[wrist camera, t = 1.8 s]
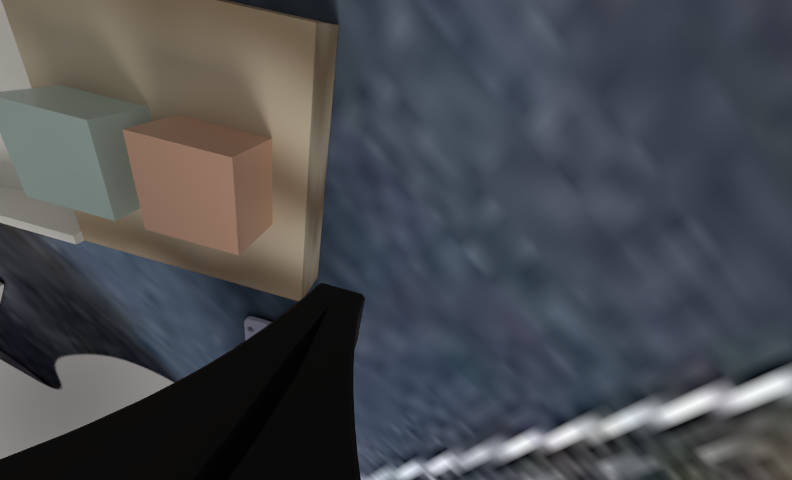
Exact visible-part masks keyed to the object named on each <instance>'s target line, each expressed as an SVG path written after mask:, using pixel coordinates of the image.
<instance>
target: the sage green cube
mask: <svg viewBox="0 0 792 480" xmlns="http://www.w3.org/2000/svg"><path fill="white" fill-rule="evenodd" d="M149 122H152V120H151V114H150V109H149V107H146V106H142V105H138V104H134V103H131V102H127V101H123V100H119V99H115V98H111V97H107V96H103V95H99V94H95V93H91V92H87V91H83V90H79V89H75V88H71V87H67V86H63V85H57V86H48V87H39V88H29V89H20V90H11V91H2V92H0V134H1V136H2V139H3V141H4V144H5V146H6V148H7V151H8V153H9V156H10V158H11V160H12V163H13V165H14V168H15V170H16V172H17V175H18V177H19V180H20V182H21V184H22V187H23V189H24V191H25V194H26V196H27V197H31V198H34V199H38V200H41V201H45V202H49V203H52V204H56V205H59V206H63V207H67V208H70V209H74V210H77V211H81V212H85V213H88V214H92V215H95V216H99V217H102V218H106V219H110V220H113V221H116V220H118V219H120V218H122V217H124V216H126V215H128V214H130V213H132V212H134V211H136V210H138V209H140V204H139V200H138V195H137V191H136V187H135V182H134V178H133V174H132V169H131V165H130V161H129V156H128V152H127V148H126V143H125V139H124V135H123V130H122V129H125V128H129V127H133V126H137V125H141V124H145V123H149Z"/></svg>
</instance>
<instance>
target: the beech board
mask: <svg viewBox="0 0 792 480" xmlns="http://www.w3.org/2000/svg"><path fill="white" fill-rule="evenodd" d="M1 1H2V4H3V7H4V9H5V12H6V15H7V18H8V21H9V24H10V27H11V30H12V33H13V35H14V38H15V41H16V44H17V47H18V50H19V53H20V56H21V59H22V61H23V64H24V67H25V70H26V73H27V76H28V79H29V82H30V85H31V88H39V87H48V86H57V85H63V86H67V87H71V88H75V89H79V90H83V91H87V92H91V93H95V94H99V95H103V96H107V97H111V98H115V99H119V100H123V101H127V102H131V103H134V104H138V105H142V106H146V107H149V109H150V114H151V120H152V122H153V121H157V120H161V119H165V118H169V117H173V116H176V115H182V116H186V117H190V118H194V119H198V120H202V121H206V122H210V123H214V124H218V125H222V126H226V127H230V128H234V129H238V130H242V131H246V132H250V133H254V134H258V135H262V136H266V137H270V138H272V200H273V225H272V226H270V227H269V228H268V229H267V230H266V231H265V232H264V233H263V234H262V235H261V236H260V237H258V238H257V239H256V240H255V241H254V242H253V243H252V244H251V245H250V246H249V247H248V248H246V249H245V250H244V251H243V252H242V253H241V254H240V255H235V254H232V253H228V252H224V251H221V250H217V249H214V248H210V247H207V246H203V245H199V244H196V243H192V242H189V241H185V240H181V239H178V238H174V237H171V236H167V235H163V234H160V233H156V232H153V231H149V230H146V229H145V226H144V221H143V217H142V213H141V208H140V209H138V210H136V211H134V212H132V213H130V214H128V215H126V216H124V217H122V218H120V219H118V220H116V221H113V220H110V219H106V218H102V217H99V216H95V215H92V214H88V213H85V212H81V211H77V210H74V212H75V215H76V218H77V221H78V223H79V226H80V229H81V232H82V235H83V238H84V240H85V241H89V242H92V243H96V244H99V245H103V246H106V247H110V248H113V249H117V250H120V251H124V252H127V253H131V254H134V255H138V256H141V257H145V258H148V259H152V260H155V261H159V262H162V263H166V264H169V265H173V266H176V267H180V268H183V269H187V270H190V271H194V272H197V273H201V274H204V275H208V276H211V277H215V278H218V279H222V280H225V281H229V282H232V283H236V284H239V285H243V286H246V287H250V288H253V289H257V290H260V291H264V292H267V293H271V294H275V295H278V296H282V297H285V298H289V299H292V300H296V301H300V300H301V299H302V298H303V297H305V295H306V294H307V292H308V291H309V289H310V288H311V286H312V285H313V283H314V282H315V280H316V279H317V277H318V267H319V255H320V243H321V231H322V219H323V207H324V195H325V183H326V171H327V159H328V147H329V135H330V123H331V112H332V100H333V88H334V76H335V64H336V52H337V40H338V28H339V25H336V24H331V23H327V22H322V21H318V20H313V19H309V18H304V17H300V16H295V15H291V14H287V13H282V12H278V11H273V10H269V9H264V8H260V7H255V6H251V5H246V4H242V3H237V2H233V1H228V0H1Z"/></svg>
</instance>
